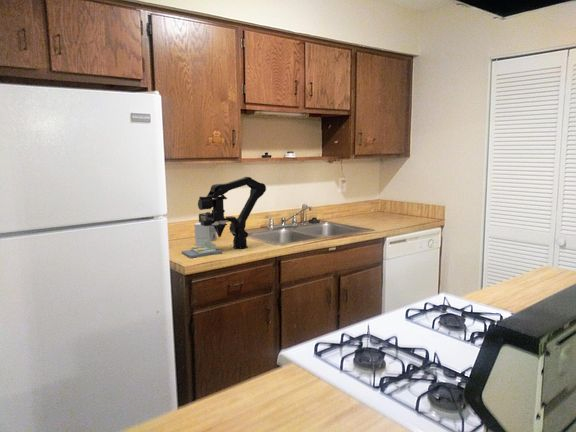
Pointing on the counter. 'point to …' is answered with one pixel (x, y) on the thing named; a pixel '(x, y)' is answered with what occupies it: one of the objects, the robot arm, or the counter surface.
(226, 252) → the counter surface
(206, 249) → the panel
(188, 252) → the board
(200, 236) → the supplement box
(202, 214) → the coffee box
